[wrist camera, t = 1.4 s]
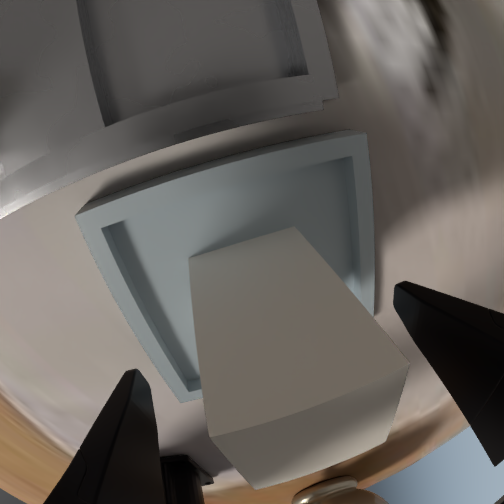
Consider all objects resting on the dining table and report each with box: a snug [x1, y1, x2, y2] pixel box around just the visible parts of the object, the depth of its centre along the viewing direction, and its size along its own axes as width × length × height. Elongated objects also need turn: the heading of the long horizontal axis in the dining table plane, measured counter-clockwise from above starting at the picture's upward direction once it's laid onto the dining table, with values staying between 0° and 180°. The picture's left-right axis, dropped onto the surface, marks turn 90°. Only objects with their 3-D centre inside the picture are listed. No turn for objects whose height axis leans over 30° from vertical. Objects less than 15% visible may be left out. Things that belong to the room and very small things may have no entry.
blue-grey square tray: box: [75, 129, 375, 403], centre depth 12 cm, size 10×10×1 cm
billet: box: [188, 226, 410, 490], centre depth 9 cm, size 4×4×7 cm
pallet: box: [0, 0, 339, 219], centre depth 6 cm, size 8×17×2 cm, turn 103°
